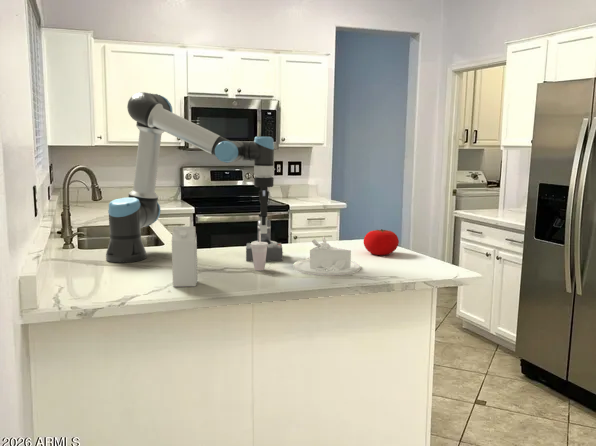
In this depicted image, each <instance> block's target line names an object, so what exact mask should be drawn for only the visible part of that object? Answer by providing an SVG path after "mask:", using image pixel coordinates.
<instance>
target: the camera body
mask: <svg viewBox="0 0 596 446" xmlns="http://www.w3.org/2000/svg"><path fill="white" fill-rule="evenodd" d="M250 242H251V243H252V242H258V240H254V241H250ZM250 242H247V243H246V247H245V260H246V262H253V255H252V247H251V243H250ZM282 244H283V243H282V242H277V241H275V240H270V244H268V247H267V254H266V262H283V245H282Z"/></svg>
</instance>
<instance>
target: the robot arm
mask: <svg viewBox="0 0 596 446" xmlns="http://www.w3.org/2000/svg"><path fill="white" fill-rule="evenodd" d="M126 108H127V112H128V115H129V117H130V118H131V119H132V120H133V121H135V122H136V128H137V129H138V131H139V132H138V133H139V134H138V142H137V144H138V145H137V152H136V161H135V170H134V180H133V188H132V190H131V191H129V192H128V197H121V198H116V199H113V200H111V201H109V204H108V210H107V211H108V213H107V214H108V225H109V226H108V227H109V243H108V247H107V249H106V253H105V259H106V261H107V262H110V263H132V262H133V263H134V262H139V261H143V260H145V259H146V258H147V251H146V249H145V245H144V243H143V239H142V231H141V230H142V228H145V227H149V226H151V225H153V224H155V223H156V222H157V220H158V219H159V218H160V215H161V210H162V209H161V206H160V205H161V204H159V202H158V201H159V200H158V199H159V196H158V194H157V192H156V184H157V175H158V167H159V160H160V159H159V158H160V152H161V151H160V150H161V140H162V134H163V133H164V132H165V133H167V134H169V135H172V136H173V137H175V138H177V139H179V140H181V141H183V142H186V143H188V144H190V145H192V146H194V147H196V148H198V149H201V150H202V151H204V152H206V153H208V154H210V155H213V156H214V157H216V159H217V160H218V161H220V162H222V163H231V162H240V161H243V162H244V161H245V162H247V161H248V162H253V168H254V169H253V170H254V171H253V176H254V178H253V185H254V187H256V188H260V189H259V191H258V197H259V203H260V207H259V208H260V209H259V211H260V212H259V213H258V217H259V220H260V231H261V234H267V220H268V212H269V208H268V202H269V196H270V192H269V191H268V188H272V187H274V177H273V176H274V171H275V170H276V168H274V165H275V164H274V163H275V162H274V160H275V159H274V158H275V144H274V138H273V137H272V136H255V137H254V140H253V141H243V140H241V141H239V140H229V139H228V138H226V137H223V136H222V135H219V134H217V133H215V132H213V131H211V130H209V129H207V128H205V127H203V126H200V125H198V124H196V123H194V122H192V121H191V120H188V119H186V118H185V117H183V116H180V115H177V114H176V113H173V106H172V104H171V102H170V100H168V98H166V97H164V96H163V95H161V94H158V93H151V92H144V91H142V92H137V93H135V94H133V95H131V97H129V100H128V101H127V107H126Z"/></svg>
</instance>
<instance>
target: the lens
mask: <svg viewBox="0 0 596 446" xmlns="http://www.w3.org/2000/svg"><path fill="white" fill-rule="evenodd" d="M271 228H272V226H271V220H270V219H267V234H261V242H267V243H268V244H270V241H271ZM259 231H260V219H258V220H257V241H258V242H259Z"/></svg>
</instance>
